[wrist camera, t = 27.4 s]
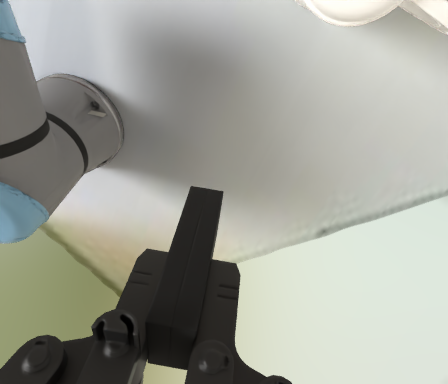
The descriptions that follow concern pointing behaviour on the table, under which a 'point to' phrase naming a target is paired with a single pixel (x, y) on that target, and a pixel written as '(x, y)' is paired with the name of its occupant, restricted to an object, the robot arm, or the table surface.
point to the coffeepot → (377, 11)
